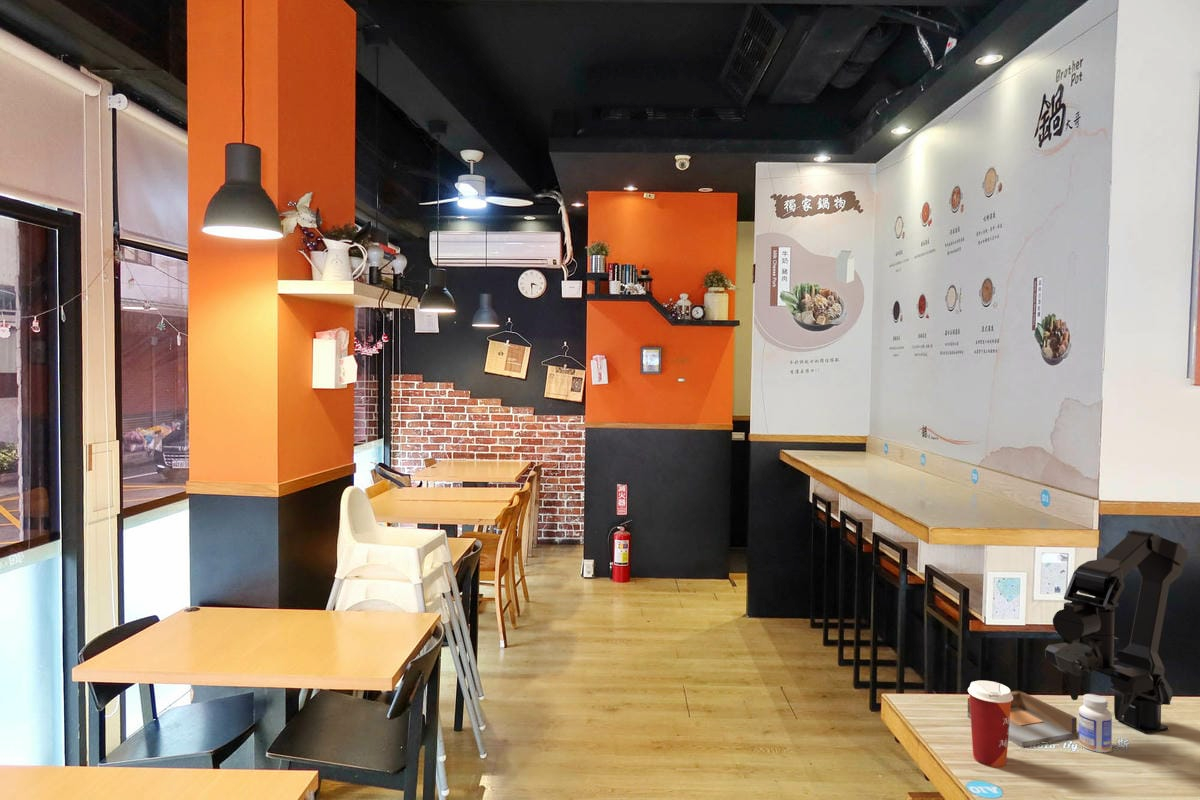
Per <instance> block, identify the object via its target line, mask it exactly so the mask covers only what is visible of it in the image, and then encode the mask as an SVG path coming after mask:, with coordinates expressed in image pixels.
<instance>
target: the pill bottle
mask: <svg viewBox="0 0 1200 800" xmlns="http://www.w3.org/2000/svg"><path fill="white" fill-rule="evenodd" d="M1082 702H1083V704H1081V706H1079V709H1078V744H1079V745H1080V746H1081V747H1083V748H1085V749H1086V750H1090V751H1092V752H1095V751H1096V752H1097V753H1103V752H1104V753H1109V752H1111V750H1112V745H1113V743H1112V740H1113V739H1112V738H1113V737H1112V736H1113V735H1112V732H1113V731H1112V730H1113V728H1112V726H1113V724H1112V723H1113V722H1112V721H1113V719H1112V717H1113V716H1112V713H1111V711H1110V710H1109V709H1107V708H1108V704H1109V703H1108V699H1107V698H1105V697H1103V696H1101V695H1098V694H1093V693H1086V694H1084V695H1083V696H1082Z"/></svg>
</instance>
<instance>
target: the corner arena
mask: <svg viewBox="0 0 1200 800" xmlns="http://www.w3.org/2000/svg"><path fill="white" fill-rule="evenodd" d="M1011 694H1012V696H1013V700H1012V701H1011V710H1010V723H1009V736H1008V741H1010V742H1012V743H1014V744H1015V743H1016V744H1015V745H1017V746H1019V745H1020V746H1019V747H1020V748H1024V747H1023V746H1026V747H1029V746H1028V745H1031V746H1034V744H1037V745H1039V744H1038V743H1042V742H1048V743H1050V742H1049V741H1053V742H1058V741H1057V740H1059V741H1064V740H1068V738H1070V739H1075V738H1077V733H1078V731H1077V729H1078V728H1077V727H1078V726H1077V723H1078V721H1077V720H1078V718H1077V717H1076V716H1074V715H1073V714H1070V713H1068V712H1066V711H1064V710H1061V709H1060V708H1057V707H1055V706H1053V705H1050V704H1049V703H1046V702H1045V701H1043V700H1040V699H1038V698H1036V697H1034V696H1032V695H1029V694H1027V693H1026V692H1023V691H1021V690H1014V691H1011ZM967 718H969V719H971V711H970V697H967ZM1074 737H1075V738H1074ZM1063 739H1064V740H1063ZM1042 744H1043V743H1042Z"/></svg>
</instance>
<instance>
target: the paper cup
mask: <svg viewBox="0 0 1200 800" xmlns="http://www.w3.org/2000/svg"><path fill="white" fill-rule="evenodd" d="M967 692H968V693H969V698H970V711H971V718H970V728H971V745H972V756H973V759H974V760H975V761H976V762H977V763H978V764H981V765H983V766H986V767H990V768H1002V767H1004V766H1006V764H1007V756H1008V745H1009V740H1008V736H1009V723H1010V710H1011V701H1012V700H1013V696H1012V694H1011V692H1012V691H1011V689H1010V688H1009V687H1008V686H1006V685H1004V684H1002V683H999V682H997V681H992V680H991V681H990V680H982V679H981V680H975V681H974V680H973V681H971V682H970V685H969V687H968V688H967Z"/></svg>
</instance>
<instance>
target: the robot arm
mask: <svg viewBox="0 0 1200 800" xmlns="http://www.w3.org/2000/svg"><path fill="white" fill-rule="evenodd" d="M1188 557H1189V556H1188V551H1187V549H1186V548H1184V547H1183V546H1182V544H1181V543H1179V542H1175V541H1171V540H1169V539H1168V538H1167V539H1166V538H1164V537H1162V536H1160V535H1159V534H1156V533H1155V532H1150V531H1143V530H1137V529H1132V530H1128V531H1127V532H1126V534H1125V537H1124V538H1122V539H1121V541H1119V543H1117V544H1116V545H1115V546H1114V547H1113V548H1112V549H1110V550H1109V552H1107V553H1106V554H1105V555H1104V556H1102V558H1099V559H1093V560H1088V561H1086V562H1084V563H1082V564H1080V565H1079V566H1078V567H1077V568H1076V569H1075V570H1074V572H1072V576H1071V578H1070V581H1069V583H1068V586H1067V588H1066V591H1065V594H1064V595H1063V600H1065V601H1067V602H1064V603H1063V609H1060V610H1058V611H1056V612H1055V613H1054V615H1053V618H1052V626H1053V628H1054V630H1055V632H1056V633H1057V634H1058V635H1059V636H1060V637H1062V638H1063V639H1065V640H1068V641H1072V642H1071V643H1070V644H1069V643H1068V642H1061V643H1054V644H1048V645H1047V647H1046V648H1045V649H1044V651H1045V652H1044V654H1045V655H1044V657H1045V659H1046V660H1048V661H1050V664H1051V665H1052V666H1054V667H1055V668H1057V670H1059V672H1060V673H1061V675H1062V677H1063V679H1064V682H1065V684H1066V687H1067V690H1068V693H1069V696H1070V697H1071V700H1072V701H1077V700H1078V698H1079V694H1080V691H1081V686H1082V685H1081V684H1082V678H1083V677H1082V676H1083V674H1084V673H1085V672H1087V673H1093V672H1095V671H1096V672H1098V673H1100V674H1102V675H1105V676H1108V677H1109V678H1110V682H1111V683H1112V685H1111V686H1109V689H1110V690H1111V691H1112V692H1113V695H1114V696H1113V697H1114V698H1113V705H1114V707H1113V714H1114V719H1115V720H1116V721H1118V722H1120V723H1123V724H1124V725H1126V726H1129V727H1130V728H1133V729H1135V730H1136V731H1137V730H1138V731H1140V732H1142V733H1144V734H1152V733H1157V732H1162V731H1166V730H1169V726H1167V725H1166V724H1163V723H1162V706H1163V705H1164V706H1165V705H1166V706H1170V705H1171V702H1172V699H1173V689H1172V687H1171V686H1170V684H1169V682H1168V680H1167V679H1166V678H1165V671H1166V670H1165V669H1166V668H1165V666H1164V664H1163V662H1162V659H1161V658H1160V655H1159V653H1158V652H1159V648H1160V647H1159V646H1160V641H1161V634H1162V630H1163V624H1164V618H1165V613H1166V609H1167V608H1166V607H1167V604H1168V603H1167V601H1168V595H1169V591H1170V586H1171V584H1173V583H1174V581H1176V580H1177V579H1178V578H1179V577H1181V575H1182V574H1183V571H1184V566H1185V565H1186V564H1187V563H1188V559H1189V558H1188ZM1135 568H1137V569H1138V572H1139V575H1140V577H1141V581H1140V586H1139V593H1138V597H1137V601H1136V602H1137V603H1136V608H1135V609H1136V610H1135V613H1134V618H1133V625H1132V629H1131V630H1132V631H1131V634H1130V640H1129V644H1128V645H1127V646H1126V647H1125V648H1124V649H1119V650H1118V651H1117V652H1116V655H1115V645H1117V644H1119V645H1120V638H1118V637H1116V636H1115V608H1117V607H1119V606H1120V604H1119V602H1118V600H1119V598H1120V596H1121V594H1122V592H1123V591H1124V589H1125V582H1124V579H1125V578H1126V576H1128V575H1129V573H1131V572H1132V571H1133V570H1134V569H1135Z"/></svg>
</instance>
